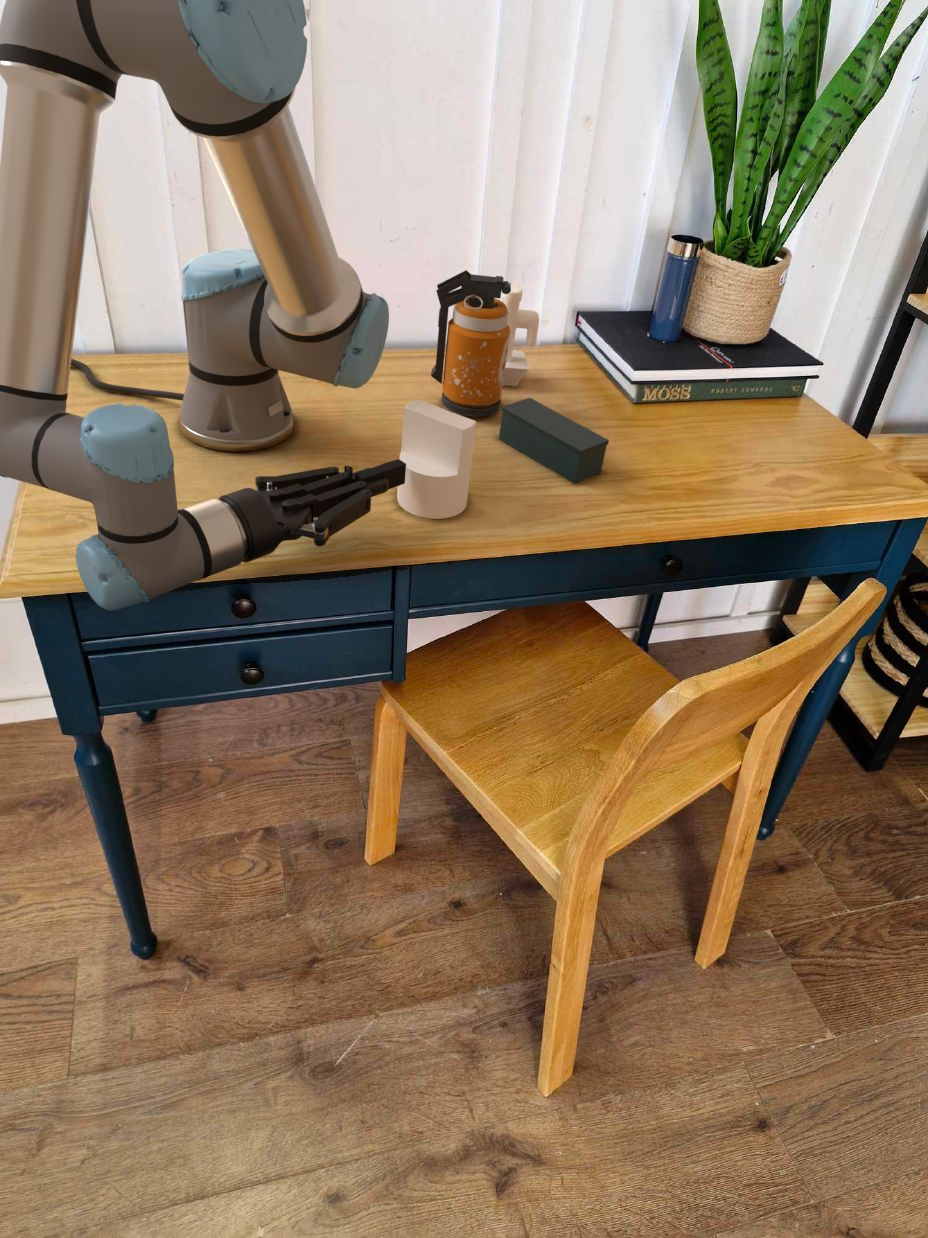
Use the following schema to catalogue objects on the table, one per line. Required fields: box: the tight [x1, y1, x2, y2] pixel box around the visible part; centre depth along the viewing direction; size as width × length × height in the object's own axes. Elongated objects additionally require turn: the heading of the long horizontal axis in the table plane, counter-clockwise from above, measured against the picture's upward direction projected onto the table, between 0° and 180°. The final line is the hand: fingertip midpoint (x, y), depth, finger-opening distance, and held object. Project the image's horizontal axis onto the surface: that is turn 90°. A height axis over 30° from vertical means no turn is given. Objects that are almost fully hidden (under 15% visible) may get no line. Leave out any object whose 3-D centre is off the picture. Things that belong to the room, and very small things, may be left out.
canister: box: [430, 269, 512, 418], centre depth 134 cm, size 9×11×20 cm
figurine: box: [502, 283, 540, 387], centre depth 145 cm, size 7×9×15 cm
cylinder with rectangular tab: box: [396, 399, 477, 520], centre depth 115 cm, size 9×9×12 cm
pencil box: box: [498, 397, 610, 484], centre depth 129 cm, size 15×6×5 cm, turn 43°
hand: (401, 471), depth 111 cm, fingers closed
